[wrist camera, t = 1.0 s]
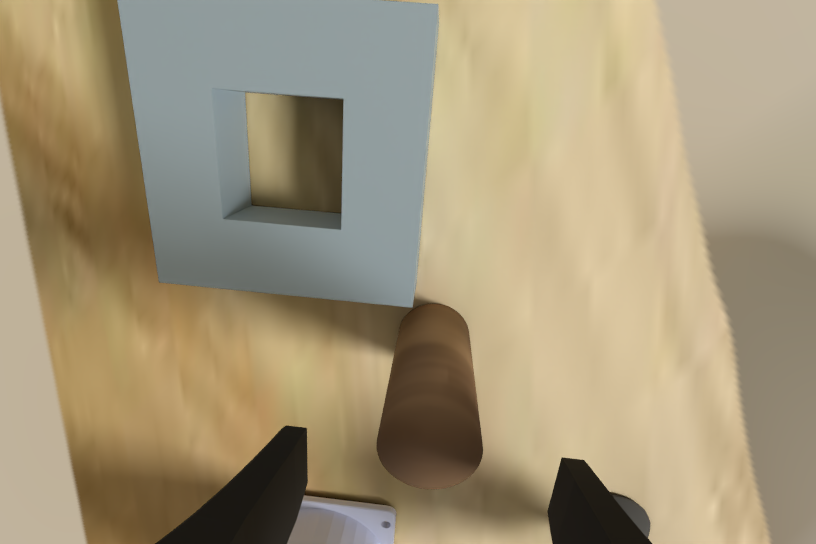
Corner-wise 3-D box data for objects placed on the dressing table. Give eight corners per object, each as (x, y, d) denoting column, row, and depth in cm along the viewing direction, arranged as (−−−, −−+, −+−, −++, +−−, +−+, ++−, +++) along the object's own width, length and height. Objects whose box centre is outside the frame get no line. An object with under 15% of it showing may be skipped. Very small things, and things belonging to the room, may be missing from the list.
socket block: (416, 283, 18) (412, 307, 16) (194, 261, 19) (159, 282, 17) (439, 21, 15) (438, 4, 12) (164, 2, 15) (114, -18, 13)
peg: (464, 368, 20) (475, 494, 13) (396, 361, 20) (374, 482, 13) (473, 307, 19) (489, 411, 12) (401, 300, 19) (379, 399, 12)
